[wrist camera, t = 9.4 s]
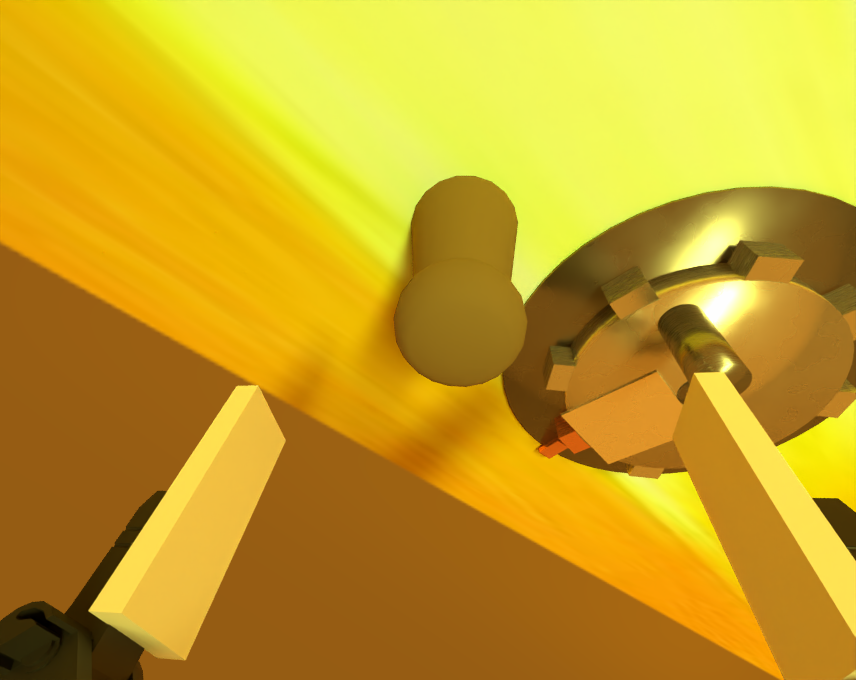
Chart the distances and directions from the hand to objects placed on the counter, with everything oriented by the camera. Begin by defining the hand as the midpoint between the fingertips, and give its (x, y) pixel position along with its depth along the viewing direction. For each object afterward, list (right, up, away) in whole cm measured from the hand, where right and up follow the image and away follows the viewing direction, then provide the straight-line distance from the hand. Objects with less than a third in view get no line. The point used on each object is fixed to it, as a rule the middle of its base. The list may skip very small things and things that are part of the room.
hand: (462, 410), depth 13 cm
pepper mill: (+1, +9, +11) cm, 14 cm away
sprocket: (+16, +1, +15) cm, 22 cm away
